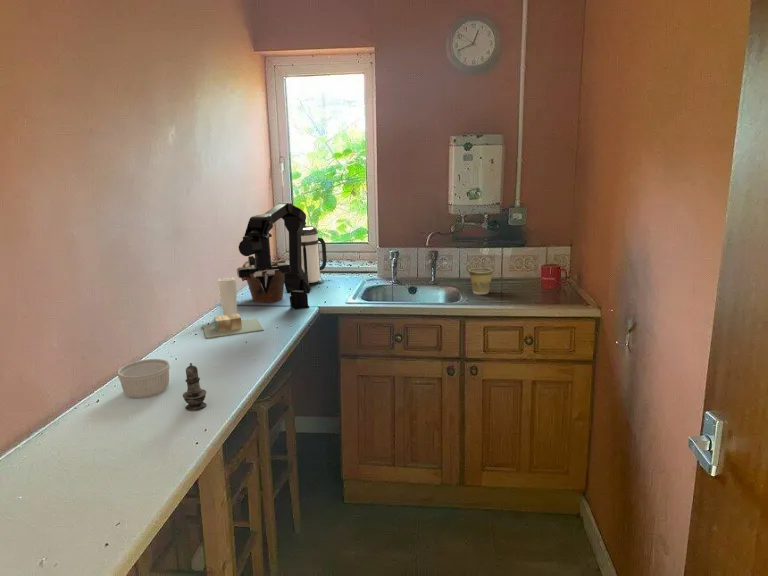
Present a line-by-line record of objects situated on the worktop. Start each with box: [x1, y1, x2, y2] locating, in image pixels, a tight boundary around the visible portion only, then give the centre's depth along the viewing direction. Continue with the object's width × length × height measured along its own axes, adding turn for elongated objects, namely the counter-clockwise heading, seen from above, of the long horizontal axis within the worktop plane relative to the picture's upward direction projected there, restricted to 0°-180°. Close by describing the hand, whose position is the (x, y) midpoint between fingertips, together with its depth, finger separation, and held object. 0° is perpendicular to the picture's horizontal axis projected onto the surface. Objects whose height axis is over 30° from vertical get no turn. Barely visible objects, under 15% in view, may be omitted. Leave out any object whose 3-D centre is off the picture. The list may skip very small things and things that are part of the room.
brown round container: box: [240, 258, 287, 303], centre depth 255 cm, size 18×20×18 cm
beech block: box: [213, 313, 242, 332], centre depth 216 cm, size 4×6×9 cm
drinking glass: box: [217, 276, 238, 316], centre depth 231 cm, size 7×7×15 cm
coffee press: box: [301, 221, 327, 284], centre depth 281 cm, size 17×16×30 cm
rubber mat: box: [202, 317, 265, 339], centre depth 217 cm, size 20×16×1 cm
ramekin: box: [117, 358, 171, 399], centre depth 163 cm, size 13×13×7 cm
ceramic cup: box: [468, 267, 494, 296], centre depth 254 cm, size 13×10×10 cm
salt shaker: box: [182, 362, 207, 412], centre depth 151 cm, size 6×6×12 cm
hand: (265, 293), depth 218 cm, fingers closed
